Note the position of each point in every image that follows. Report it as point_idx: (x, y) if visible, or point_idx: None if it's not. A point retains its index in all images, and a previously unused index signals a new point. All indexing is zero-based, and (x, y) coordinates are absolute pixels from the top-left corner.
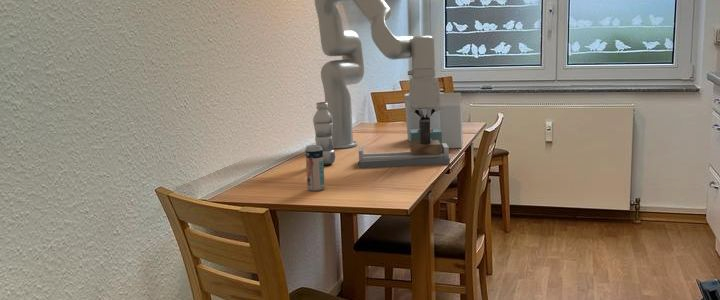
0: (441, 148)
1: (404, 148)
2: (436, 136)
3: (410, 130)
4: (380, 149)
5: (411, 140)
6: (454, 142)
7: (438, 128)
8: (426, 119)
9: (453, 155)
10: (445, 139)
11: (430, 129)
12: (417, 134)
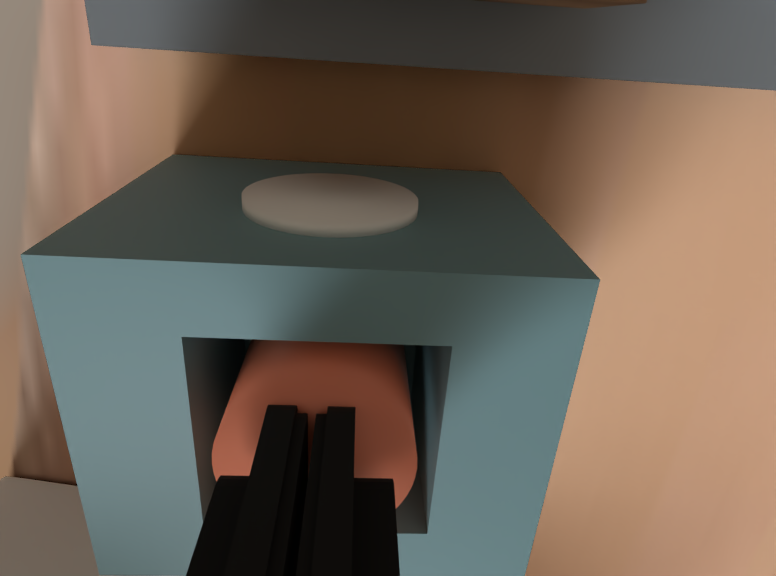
0: (149, 172)
1: None
2: (154, 228)
3: (532, 522)
4: (657, 566)
5: (553, 231)
6: (39, 523)
7: (112, 571)
8: (263, 562)
9: (46, 146)
10: None
11: (228, 413)
12: (478, 260)
